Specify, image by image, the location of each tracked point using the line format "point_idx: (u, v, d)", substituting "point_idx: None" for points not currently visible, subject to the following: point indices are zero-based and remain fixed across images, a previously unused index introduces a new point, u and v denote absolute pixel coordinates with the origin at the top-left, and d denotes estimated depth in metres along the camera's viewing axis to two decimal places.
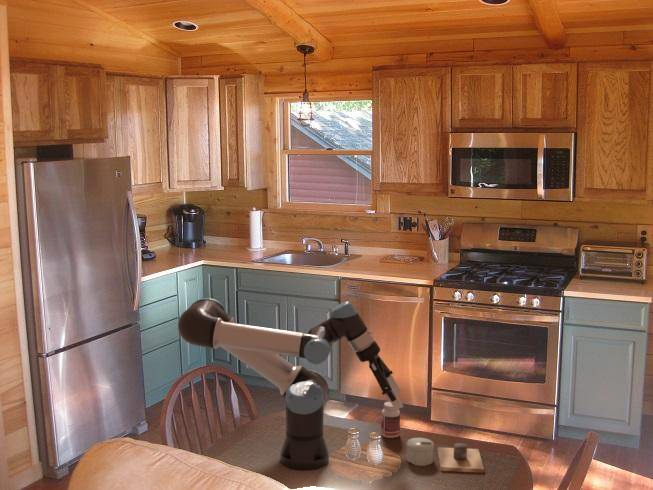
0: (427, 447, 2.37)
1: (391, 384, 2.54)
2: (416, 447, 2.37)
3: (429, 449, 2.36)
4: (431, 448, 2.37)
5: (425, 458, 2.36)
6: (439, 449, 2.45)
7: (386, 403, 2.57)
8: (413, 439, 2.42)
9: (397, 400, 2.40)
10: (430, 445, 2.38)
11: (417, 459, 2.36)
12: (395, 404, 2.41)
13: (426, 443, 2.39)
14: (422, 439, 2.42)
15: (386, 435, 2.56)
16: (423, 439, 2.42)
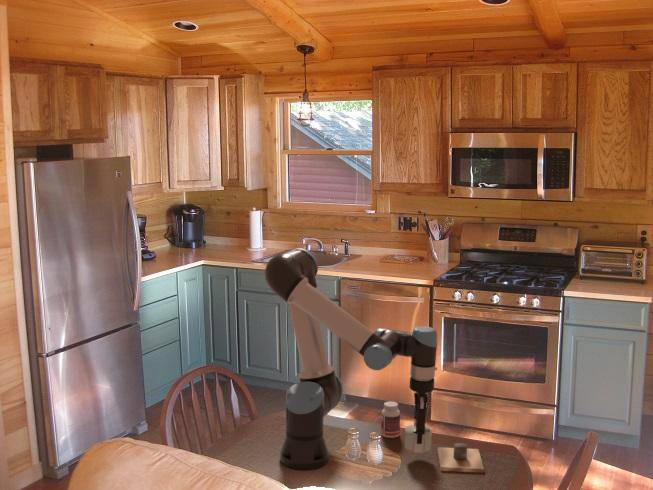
0: (426, 434, 2.36)
1: None
2: None
3: (428, 436, 2.36)
4: (430, 435, 2.37)
5: (423, 445, 2.36)
6: (439, 449, 2.45)
7: (386, 403, 2.57)
8: (412, 426, 2.42)
9: (421, 445, 2.35)
10: (429, 432, 2.38)
11: None
12: (417, 447, 2.35)
13: (425, 430, 2.38)
14: None
15: (386, 435, 2.56)
16: None
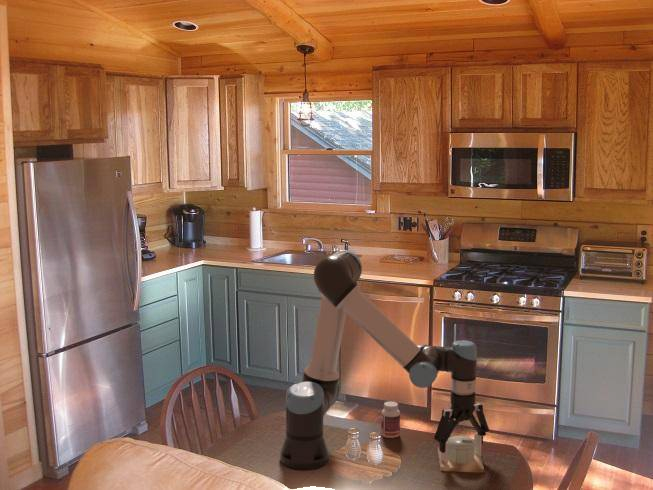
0: (469, 445, 2.36)
1: (476, 442, 2.41)
2: (458, 445, 2.35)
3: (471, 447, 2.35)
4: (472, 446, 2.36)
5: (466, 456, 2.35)
6: None
7: (386, 403, 2.57)
8: (454, 437, 2.41)
9: (445, 454, 2.35)
10: (471, 443, 2.37)
11: (459, 457, 2.35)
12: (442, 455, 2.36)
13: (467, 441, 2.38)
14: (463, 437, 2.41)
15: (386, 435, 2.56)
16: (464, 437, 2.41)
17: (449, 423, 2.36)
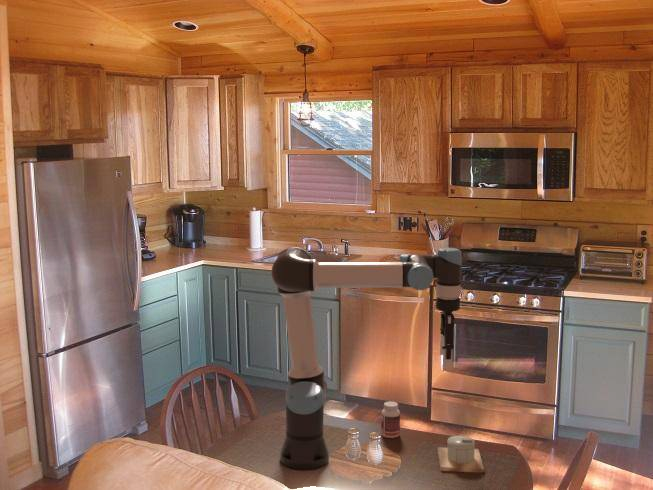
0: (469, 445, 2.36)
1: (443, 343, 2.52)
2: (458, 445, 2.35)
3: (471, 447, 2.35)
4: (472, 446, 2.36)
5: (466, 456, 2.35)
6: (439, 449, 2.45)
7: (386, 403, 2.57)
8: (454, 437, 2.41)
9: (450, 360, 2.38)
10: (471, 443, 2.37)
11: (459, 457, 2.35)
12: (446, 363, 2.39)
13: (467, 441, 2.38)
14: (463, 437, 2.41)
15: (386, 435, 2.56)
16: (464, 437, 2.41)
17: None
